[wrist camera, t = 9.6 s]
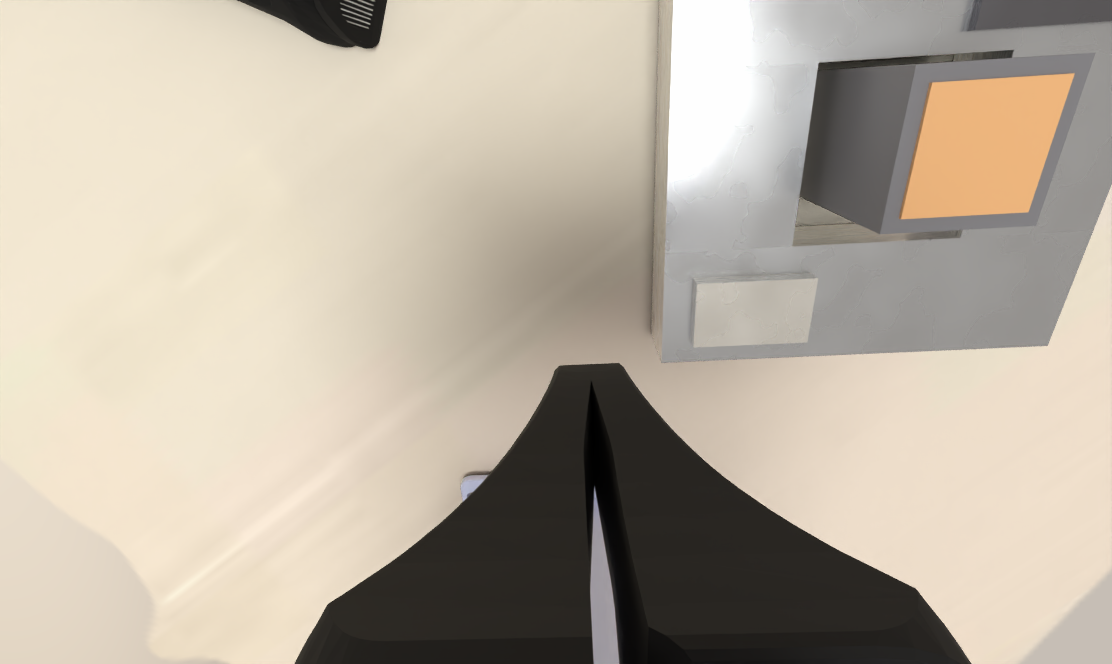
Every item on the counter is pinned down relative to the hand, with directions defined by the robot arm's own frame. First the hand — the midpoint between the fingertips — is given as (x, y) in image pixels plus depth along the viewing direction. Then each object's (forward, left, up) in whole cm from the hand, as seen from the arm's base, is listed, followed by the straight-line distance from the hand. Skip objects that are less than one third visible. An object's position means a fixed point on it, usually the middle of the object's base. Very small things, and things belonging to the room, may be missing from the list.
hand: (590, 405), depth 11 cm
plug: (+4, -10, -11) cm, 15 cm away
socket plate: (+3, -10, -10) cm, 15 cm away
